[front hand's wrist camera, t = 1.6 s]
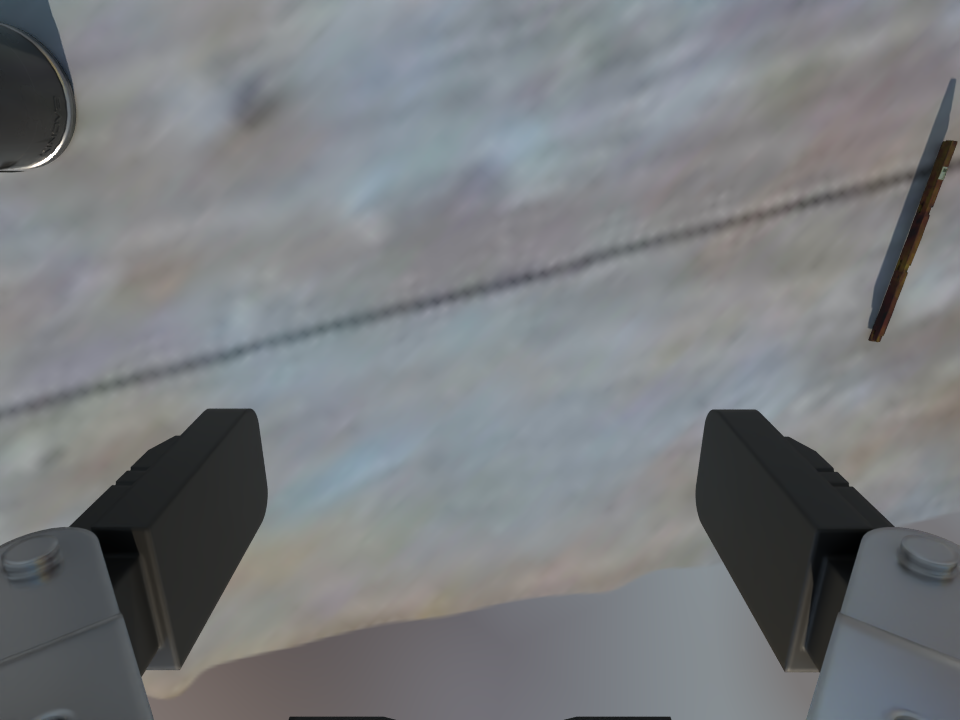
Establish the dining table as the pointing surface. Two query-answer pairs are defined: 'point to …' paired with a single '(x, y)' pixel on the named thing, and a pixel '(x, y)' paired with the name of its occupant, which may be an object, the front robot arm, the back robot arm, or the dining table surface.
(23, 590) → the front robot arm
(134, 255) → the dining table surface
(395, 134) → the dining table surface
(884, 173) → the dining table surface
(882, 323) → the brown thin stick
